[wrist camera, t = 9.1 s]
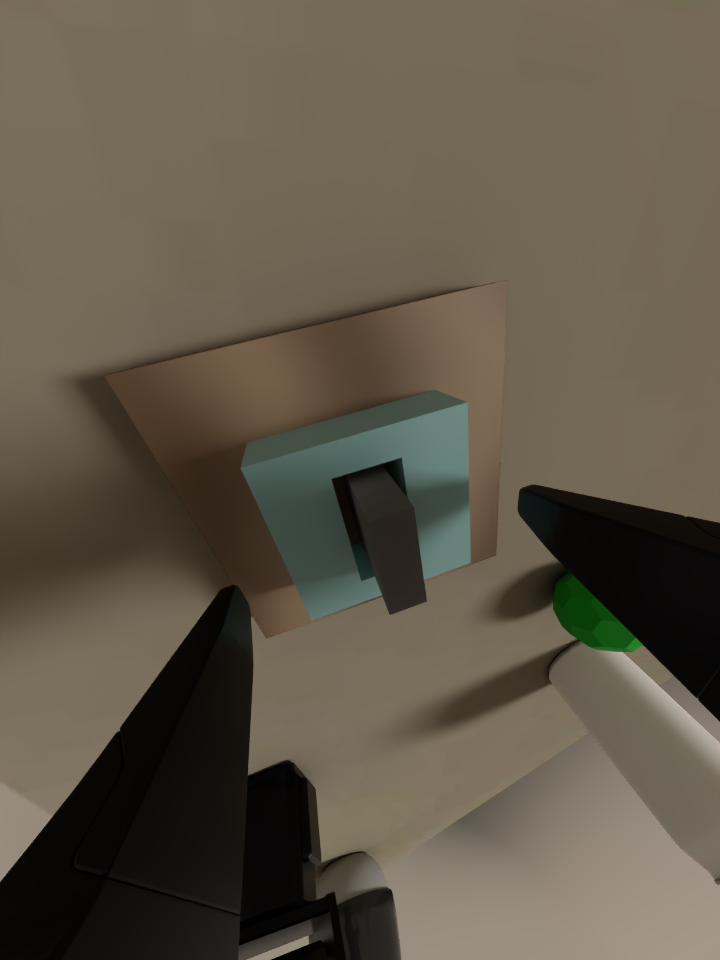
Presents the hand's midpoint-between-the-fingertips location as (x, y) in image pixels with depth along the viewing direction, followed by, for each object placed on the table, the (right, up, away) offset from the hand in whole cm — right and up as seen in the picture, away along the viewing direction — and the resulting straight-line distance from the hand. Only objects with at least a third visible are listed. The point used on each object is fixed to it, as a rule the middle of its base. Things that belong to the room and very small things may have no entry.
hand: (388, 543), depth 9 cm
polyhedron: (+14, -5, +12) cm, 19 cm away
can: (+19, -14, +18) cm, 30 cm away
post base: (-1, +2, +4) cm, 4 cm away
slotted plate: (-1, +1, +3) cm, 3 cm away
